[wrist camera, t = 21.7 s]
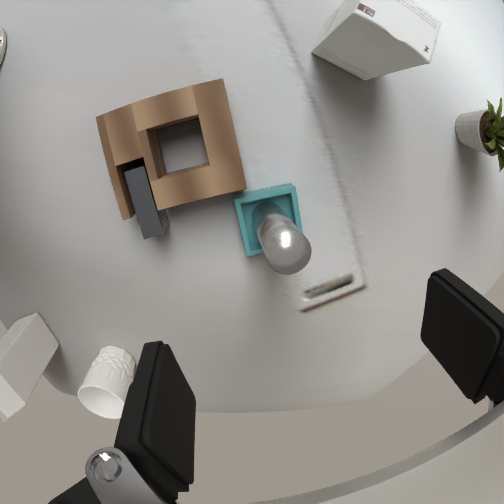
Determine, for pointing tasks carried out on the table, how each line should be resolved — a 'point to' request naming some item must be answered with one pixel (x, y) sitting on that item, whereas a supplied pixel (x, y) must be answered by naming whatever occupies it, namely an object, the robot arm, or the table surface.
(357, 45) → the skincare box
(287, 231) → the peg
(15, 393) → the milk carton
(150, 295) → the table surface
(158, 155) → the socket block
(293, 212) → the tray
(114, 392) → the white cup
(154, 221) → the bar
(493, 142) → the house plant
